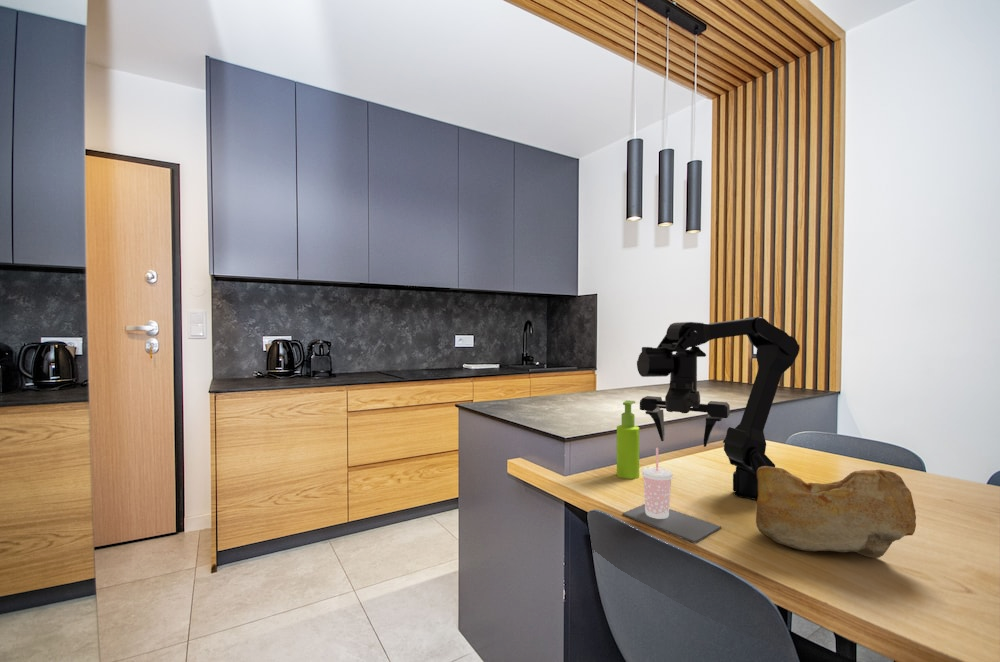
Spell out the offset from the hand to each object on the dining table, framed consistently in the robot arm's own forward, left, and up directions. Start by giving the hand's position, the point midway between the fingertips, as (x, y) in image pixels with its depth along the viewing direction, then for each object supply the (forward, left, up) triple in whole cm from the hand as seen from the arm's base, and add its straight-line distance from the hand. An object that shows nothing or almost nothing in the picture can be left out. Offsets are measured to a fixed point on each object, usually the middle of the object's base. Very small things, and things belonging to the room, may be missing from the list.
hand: (683, 443), depth 102 cm
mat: (0, +14, -13) cm, 19 cm away
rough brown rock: (-26, +7, -13) cm, 30 cm away
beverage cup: (+3, +13, -13) cm, 18 cm away
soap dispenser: (+16, -11, -13) cm, 23 cm away
